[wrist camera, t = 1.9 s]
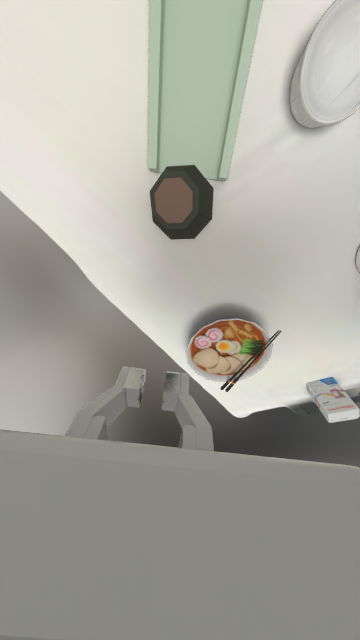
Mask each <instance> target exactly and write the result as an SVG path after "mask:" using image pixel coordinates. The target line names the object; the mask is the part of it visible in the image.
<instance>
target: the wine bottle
mask: <svg viewBox="0 0 360 640" xmlns="http://www.w3.org/2000/svg"><path fill="white" fill-rule="evenodd" d="M150 198H151V207H152V216H153V222H154V223H155V224H156V225H157V226H158V227H159V228H160V229H161V230H162V231H163V232H164V233H165V234H166V235H167V236H168V237H169V238H170V239H194V238H195V237H196V236H197V235H198V234H199V233H200V232H201V230H202V229H203V228H204V227H205V226H206V225H207V224H208V223H209V221H210V220H211V219H212V205H213V187H212V186H211V185H210V184H209V182H208V181H207V180H206V179H205V177H204V176H203V175H202V174H201V172H200V171H199V170H198V169H197V167H196V166H195V165H182V166H167V167H166V168H165V170H164V171H163V172H162V174H161V175H160V177H159V178H158V180H157V181H156V183H155V184H154V186H153V187H152V189H151V190H150Z"/></svg>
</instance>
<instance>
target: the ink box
mask: <svg viewBox="0 0 360 640" xmlns="http://www.w3.org/2000/svg"><path fill="white" fill-rule="evenodd" d="M306 385H307V390H308V392H309V393H310V395H311V396H312V398H313V400H314V401H315V403H316V404H317V406H318V407H319V409H320V410H321V412H322V413H323V415H324V416H325V418H326V419H327V421H328V422H330V423H331V422H337V421H344V420H350V419H357V418H358V417H360V410H359V408H358V407H357V406H356V404H355V403H354V402H353V401H352V400H351V399H350V397H349V396H348V395H347V394H346V393H345V392H344V390H343V389H342V388H341V387H340V386H339V384H338V383H337V382H336V381H335V380H334V379H333V377H331V378H326V379H322V380H318V381H314V382H310V383H306Z"/></svg>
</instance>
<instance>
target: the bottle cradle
mask: <svg viewBox="0 0 360 640" xmlns="http://www.w3.org/2000/svg"><path fill="white" fill-rule="evenodd" d="M262 3H263V0H149V78H148V168H149V169H150V170H151V171H153V172H160V173H162V172H163V171H164V170H165V168H166V167H167V166H182V165H195V166H196V167H197V169H198V170H199V171H200V172H201V174H202V175H203V176H204V177H205V179H212V180H219V181H225V180H226V179H227V178H228V173H229V168H230V163H231V158H232V153H233V148H234V143H235V138H236V133H237V128H238V123H239V118H240V113H241V108H242V103H243V98H244V93H245V88H246V83H247V78H248V73H249V68H250V63H251V58H252V53H253V48H254V43H255V38H256V33H257V28H258V23H259V18H260V13H261V8H262Z"/></svg>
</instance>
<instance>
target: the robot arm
mask: <svg viewBox="0 0 360 640" xmlns="http://www.w3.org/2000/svg"><path fill="white" fill-rule="evenodd" d="M356 266H357V269H358V271H359V272H360V247H359V249H358V252H357V256H356ZM145 374H146V370H145V369H139V368H131V367H122V369H121V371H120V373H119V376H118V378H117V380H116V383H115V385H114V387H111V388H109V389H108V390H107V391H105V392H104V393H103V394H101V395H100V396H99V397H97V398H96V399H95V400H93V401H92V402H91V403H90V404H88V405H87V406H86V407H84V408H83V409H82V410H80V411H79V412H78V413H77V415H76V417H75V418H74V420H73V422H72V424H71V425H70V427H69V429H68V431H67V433H66V434H65V436H59V435H49V434H39V433H30V432H19V431H10V430H0V640H360V468H358V467H355V466H350V465H339V464H329V463H320V462H311V461H301V460H290V459H282V458H272V457H261V456H251V455H242V454H233V453H223V452H214V448H213V438H212V428H211V426H210V424H209V423H208V421H207V420H206V418H205V416H204V415H203V413H202V412H201V410H200V409H199V407H198V406H197V404H196V403H195V401H194V400H193V398H192V397H191V396H190V395H189V375H188V374H185V373H176V372H166V379H165V385H164V393H163V404H162V410H168V411H175V414H176V416H177V419H178V421H179V423H180V425H181V427H182V434H181V439H180V443H179V447H178V448H175V447H165V446H156V445H146V444H137V443H136V444H135V443H126V442H116V441H109V435H108V430H107V427H108V426H109V425H110V424H111V423H112V422H113V421H114V420H115V419H116V418H117V416H118V415H119V414H120V413H121V412H122V411H123V410H124V409H125V408H126V406H129V407H140V404H141V400H142V393H143V392H144V388H145V381H146V378H145Z"/></svg>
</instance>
